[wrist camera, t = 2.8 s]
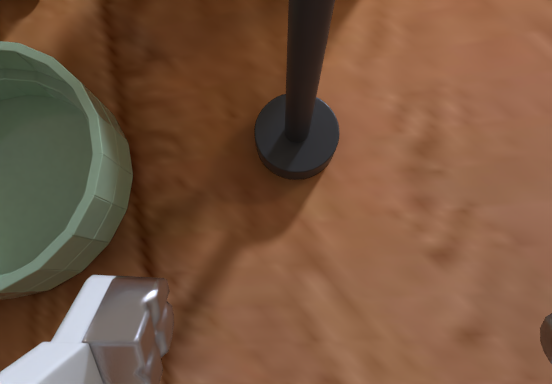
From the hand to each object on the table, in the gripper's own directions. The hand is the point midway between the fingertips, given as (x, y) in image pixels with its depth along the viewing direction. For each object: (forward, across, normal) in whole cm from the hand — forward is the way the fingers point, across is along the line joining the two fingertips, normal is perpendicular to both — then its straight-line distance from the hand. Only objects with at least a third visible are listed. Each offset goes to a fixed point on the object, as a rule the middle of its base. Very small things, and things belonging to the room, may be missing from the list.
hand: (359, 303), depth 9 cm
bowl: (+18, +19, +9) cm, 28 cm away
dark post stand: (+20, +1, +6) cm, 21 cm away
